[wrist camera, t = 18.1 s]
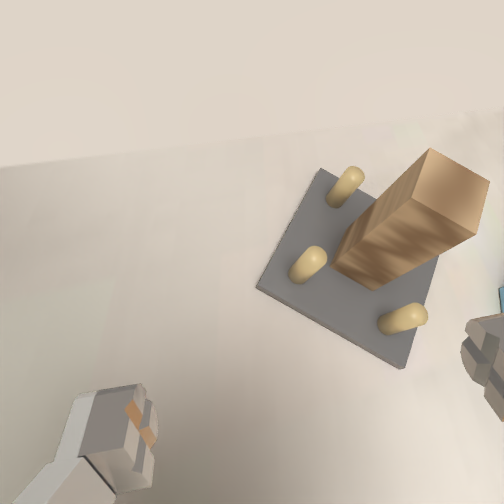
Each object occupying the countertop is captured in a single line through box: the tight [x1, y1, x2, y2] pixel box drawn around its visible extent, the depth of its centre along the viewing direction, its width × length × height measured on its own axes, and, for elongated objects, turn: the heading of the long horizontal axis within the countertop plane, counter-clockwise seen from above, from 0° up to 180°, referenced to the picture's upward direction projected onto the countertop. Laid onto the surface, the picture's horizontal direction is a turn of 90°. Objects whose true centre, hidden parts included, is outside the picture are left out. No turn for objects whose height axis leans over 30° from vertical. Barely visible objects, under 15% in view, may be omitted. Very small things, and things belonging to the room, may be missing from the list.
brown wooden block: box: [330, 148, 490, 291], centre depth 32 cm, size 5×5×14 cm
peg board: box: [256, 166, 439, 369], centre depth 37 cm, size 16×16×6 cm
